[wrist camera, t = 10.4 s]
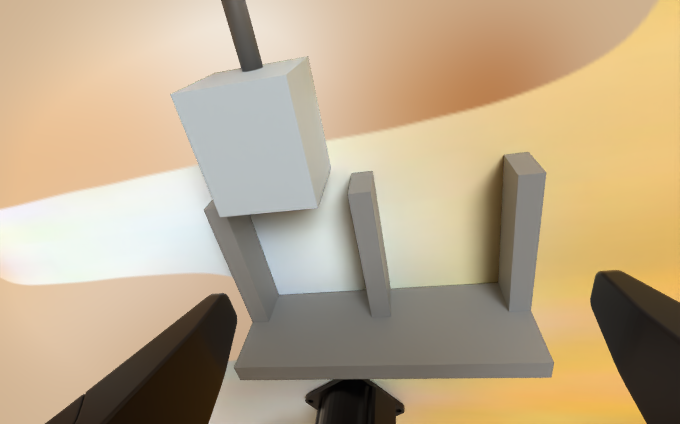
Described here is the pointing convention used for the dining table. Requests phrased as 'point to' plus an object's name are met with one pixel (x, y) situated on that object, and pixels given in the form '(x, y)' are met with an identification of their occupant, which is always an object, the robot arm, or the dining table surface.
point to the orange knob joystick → (256, 129)
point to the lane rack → (396, 303)
